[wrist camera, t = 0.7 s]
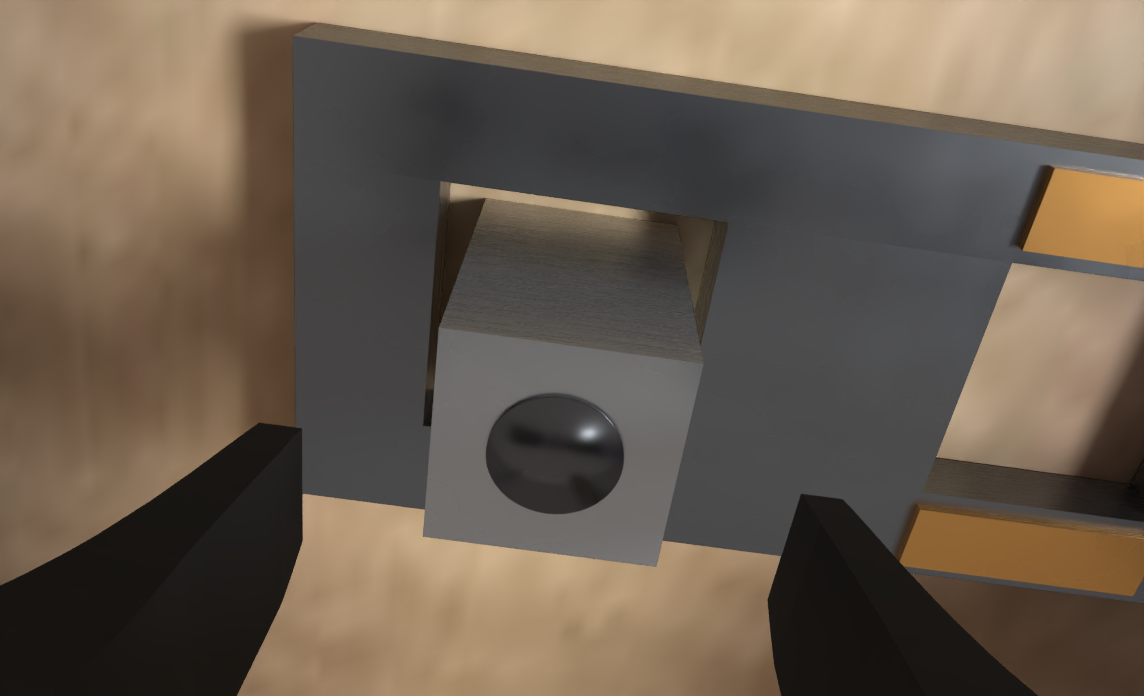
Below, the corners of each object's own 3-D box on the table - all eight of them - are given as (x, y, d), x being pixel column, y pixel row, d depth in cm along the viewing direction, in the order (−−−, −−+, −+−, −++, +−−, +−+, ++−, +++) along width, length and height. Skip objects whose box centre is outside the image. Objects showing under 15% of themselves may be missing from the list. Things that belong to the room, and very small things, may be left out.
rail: (1431, 186, 18) (1505, 215, 17) (1200, 571, 23) (1242, 621, 21) (317, 22, 17) (289, 37, 16) (314, 454, 22) (293, 497, 21)
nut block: (677, 224, 19) (703, 366, 14) (644, 389, 21) (656, 570, 16) (485, 197, 19) (438, 331, 14) (469, 365, 21) (422, 540, 15)
